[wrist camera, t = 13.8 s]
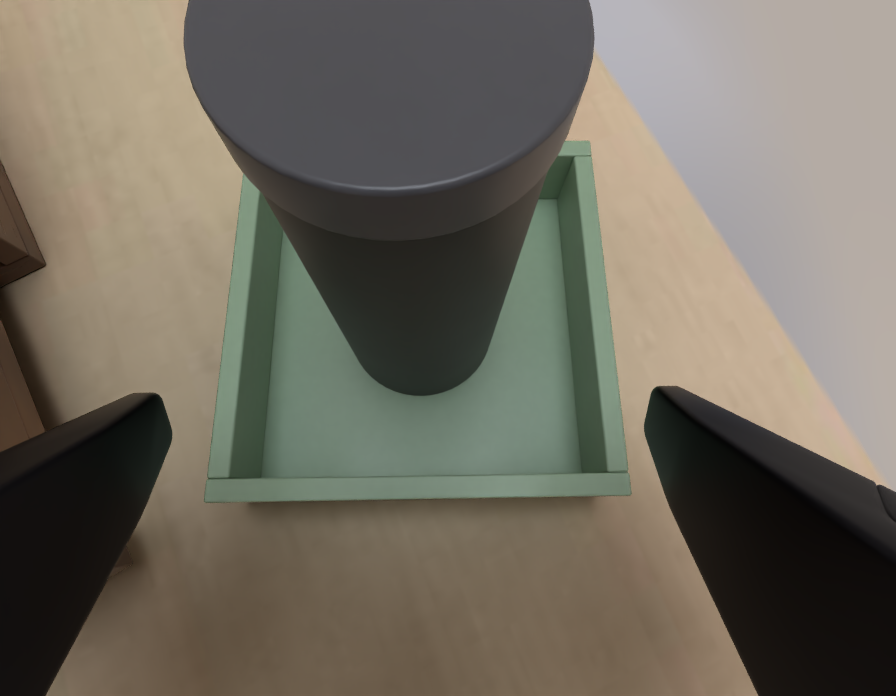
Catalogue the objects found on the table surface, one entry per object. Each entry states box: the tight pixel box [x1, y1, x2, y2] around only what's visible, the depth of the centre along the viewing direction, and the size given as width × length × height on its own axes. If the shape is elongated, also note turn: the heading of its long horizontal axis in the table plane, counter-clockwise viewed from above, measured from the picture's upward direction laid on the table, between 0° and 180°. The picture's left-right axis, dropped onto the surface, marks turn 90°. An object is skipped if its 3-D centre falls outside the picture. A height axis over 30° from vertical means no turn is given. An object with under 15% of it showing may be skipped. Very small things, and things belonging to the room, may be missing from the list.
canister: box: [184, 0, 594, 396], centre depth 12 cm, size 5×5×12 cm
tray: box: [204, 141, 632, 503], centre depth 16 cm, size 11×11×3 cm
